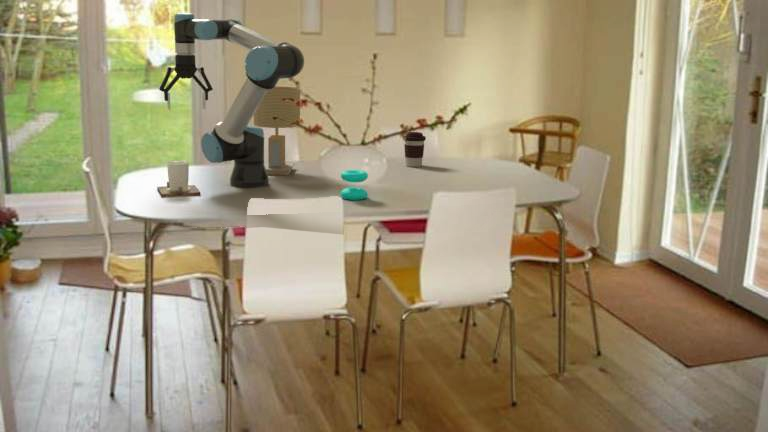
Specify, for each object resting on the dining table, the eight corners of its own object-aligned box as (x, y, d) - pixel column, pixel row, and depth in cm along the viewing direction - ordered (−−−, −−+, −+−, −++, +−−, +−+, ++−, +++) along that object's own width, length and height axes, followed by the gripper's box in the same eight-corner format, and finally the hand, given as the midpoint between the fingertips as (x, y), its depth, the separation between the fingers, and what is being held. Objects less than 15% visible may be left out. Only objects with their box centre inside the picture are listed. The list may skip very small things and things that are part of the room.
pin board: (194, 188, 347) (194, 179, 347) (200, 195, 335) (200, 186, 334) (157, 189, 343) (157, 181, 342) (161, 197, 330) (161, 188, 329)
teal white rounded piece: (345, 168, 340) (371, 170, 338) (345, 194, 343) (370, 196, 340) (337, 172, 331) (363, 174, 328) (337, 199, 333) (362, 201, 331)
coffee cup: (400, 166, 404) (401, 133, 400) (406, 163, 413) (407, 130, 410) (421, 168, 401) (422, 134, 397) (427, 165, 410) (428, 132, 407)
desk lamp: (297, 176, 376) (297, 91, 368) (250, 175, 376) (249, 90, 368) (302, 168, 395) (302, 87, 387) (257, 167, 395) (257, 86, 387)
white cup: (168, 191, 334) (167, 164, 331) (167, 187, 341) (166, 161, 339) (190, 190, 336) (189, 164, 333) (188, 186, 343) (188, 160, 341)
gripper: (215, 53, 357) (216, 107, 362) (151, 53, 348) (152, 108, 353) (219, 54, 350) (220, 109, 355) (153, 54, 341) (155, 110, 346)
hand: (186, 109), depth 354 cm, fingers open, 13 cm apart
